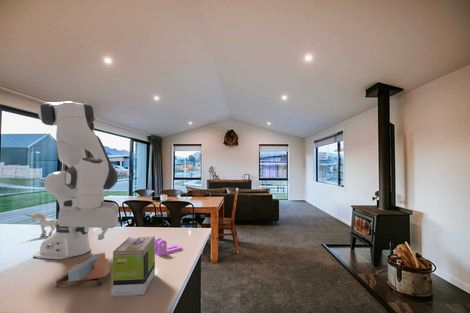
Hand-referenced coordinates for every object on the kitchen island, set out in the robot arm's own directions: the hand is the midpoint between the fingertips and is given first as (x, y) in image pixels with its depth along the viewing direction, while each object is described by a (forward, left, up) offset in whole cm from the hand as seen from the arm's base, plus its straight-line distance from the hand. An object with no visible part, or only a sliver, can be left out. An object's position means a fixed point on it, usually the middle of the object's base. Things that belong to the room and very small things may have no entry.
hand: (87, 238), depth 89 cm
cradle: (0, -2, -14) cm, 15 cm away
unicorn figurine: (-55, +54, -15) cm, 78 cm away
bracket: (+24, +28, -15) cm, 39 cm away
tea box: (+20, -5, -15) cm, 25 cm away
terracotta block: (+2, -2, -13) cm, 14 cm away
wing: (+2, -2, -10) cm, 11 cm away
